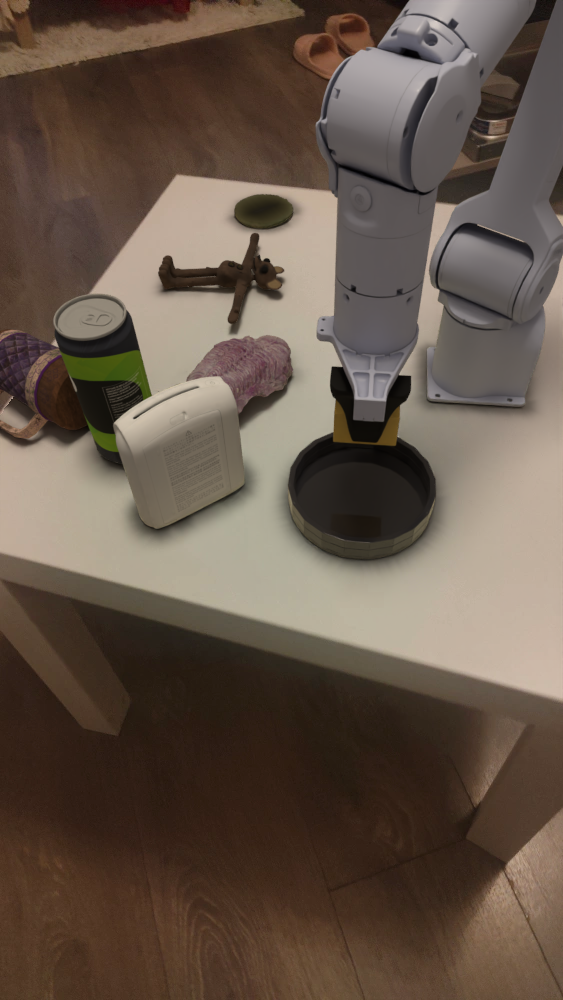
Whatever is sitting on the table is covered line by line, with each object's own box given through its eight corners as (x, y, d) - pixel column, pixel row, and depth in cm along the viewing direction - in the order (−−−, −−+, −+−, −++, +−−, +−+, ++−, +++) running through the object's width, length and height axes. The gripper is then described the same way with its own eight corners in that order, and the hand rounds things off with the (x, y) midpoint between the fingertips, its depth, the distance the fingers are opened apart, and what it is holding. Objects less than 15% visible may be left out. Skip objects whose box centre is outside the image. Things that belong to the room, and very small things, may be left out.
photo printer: (229, 456, 62) (214, 354, 53) (253, 485, 60) (242, 383, 50) (131, 506, 59) (96, 406, 49) (152, 538, 57) (120, 441, 47)
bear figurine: (176, 220, 83) (289, 213, 80) (184, 251, 86) (293, 245, 84) (140, 306, 72) (269, 301, 70) (151, 338, 76) (275, 334, 73)
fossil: (166, 415, 66) (156, 375, 62) (252, 340, 73) (248, 300, 69) (229, 448, 63) (222, 408, 59) (313, 367, 70) (312, 326, 66)
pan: (430, 452, 62) (434, 433, 60) (432, 566, 54) (437, 548, 52) (297, 443, 63) (297, 424, 61) (281, 552, 56) (279, 535, 54)
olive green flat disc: (283, 227, 85) (283, 232, 86) (300, 197, 90) (300, 203, 91) (225, 219, 87) (226, 224, 88) (245, 190, 92) (246, 195, 92)
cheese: (396, 415, 54) (400, 387, 52) (395, 446, 52) (400, 417, 50) (336, 412, 55) (337, 383, 52) (333, 442, 53) (334, 413, 50)
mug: (122, 381, 66) (43, 342, 71) (79, 348, 59) (-5, 308, 64) (70, 469, 65) (-5, 424, 70) (21, 446, 59) (-59, 398, 64)
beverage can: (170, 424, 65) (139, 294, 53) (151, 472, 61) (113, 343, 49) (111, 417, 66) (67, 288, 54) (88, 464, 62) (36, 336, 50)
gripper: (326, 210, 47) (323, 358, 58) (306, 340, 38) (307, 486, 49) (426, 212, 46) (405, 362, 57) (429, 347, 38) (403, 493, 48)
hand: (366, 420), depth 53 cm, fingers closed on cheese, 3 cm apart
